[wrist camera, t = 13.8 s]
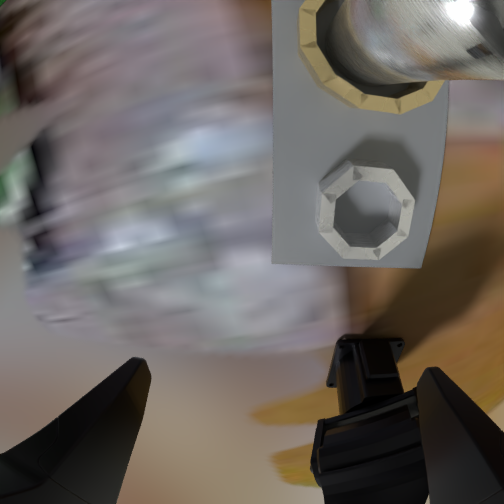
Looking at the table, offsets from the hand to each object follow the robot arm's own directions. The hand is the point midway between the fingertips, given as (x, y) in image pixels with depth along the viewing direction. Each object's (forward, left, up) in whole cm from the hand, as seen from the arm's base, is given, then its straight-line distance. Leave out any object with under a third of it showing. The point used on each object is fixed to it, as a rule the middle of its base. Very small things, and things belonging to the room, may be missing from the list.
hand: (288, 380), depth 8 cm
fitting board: (+6, -5, -13) cm, 15 cm away
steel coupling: (+11, -5, -12) cm, 17 cm away
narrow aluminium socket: (+1, -5, -13) cm, 14 cm away
